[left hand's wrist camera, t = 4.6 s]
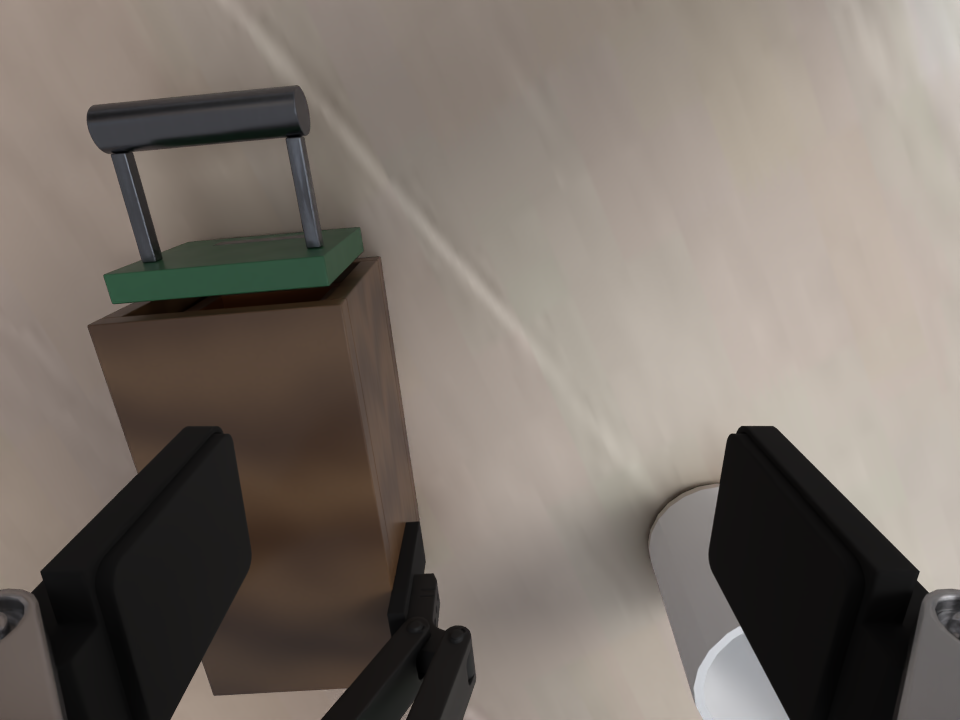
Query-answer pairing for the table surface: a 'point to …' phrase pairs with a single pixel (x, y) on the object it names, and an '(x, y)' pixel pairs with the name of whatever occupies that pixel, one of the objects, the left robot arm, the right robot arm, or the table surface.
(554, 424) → the table surface
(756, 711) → the mug
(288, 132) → the drawer
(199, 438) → the left robot arm
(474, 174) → the table surface
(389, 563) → the cabinet
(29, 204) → the table surface
